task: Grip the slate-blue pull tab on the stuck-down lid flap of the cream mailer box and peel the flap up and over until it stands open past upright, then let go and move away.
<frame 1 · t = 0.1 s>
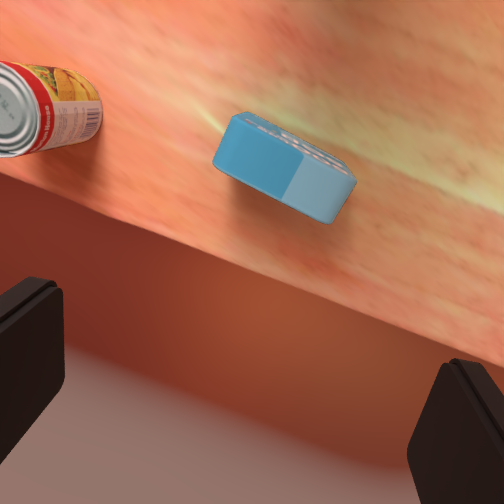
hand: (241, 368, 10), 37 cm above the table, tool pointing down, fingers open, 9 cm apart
canned food: (70, 107, 45), on the table
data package: (286, 154, 44), on the table
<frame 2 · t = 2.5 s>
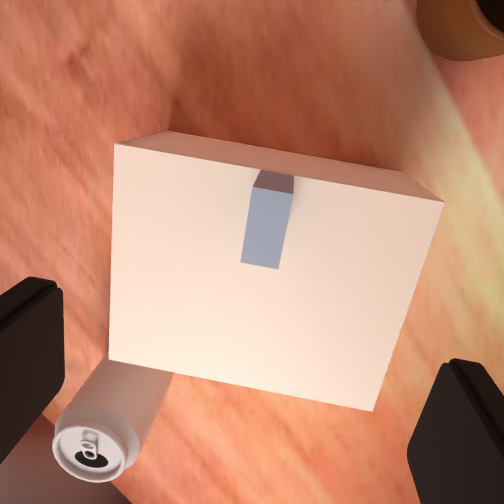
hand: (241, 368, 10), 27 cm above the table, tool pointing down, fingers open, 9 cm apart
mailer box: (266, 238, 37), on the table
can: (141, 363, 44), on the table
mug: (484, 29, 29), on the table
flap: (252, 306, 25), point 13 cm above the table, hinge at 0.0°
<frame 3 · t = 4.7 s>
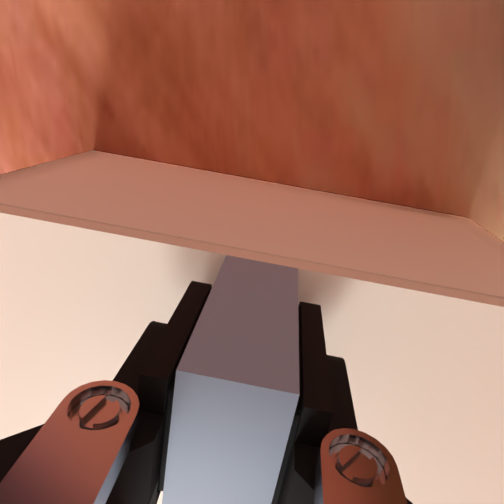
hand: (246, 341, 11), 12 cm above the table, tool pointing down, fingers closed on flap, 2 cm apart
mailer box: (253, 313, 24), on the table
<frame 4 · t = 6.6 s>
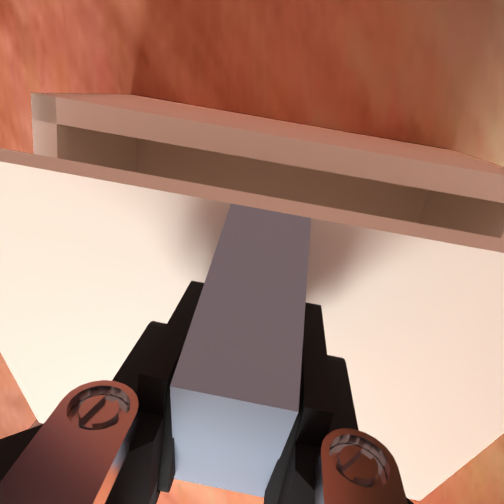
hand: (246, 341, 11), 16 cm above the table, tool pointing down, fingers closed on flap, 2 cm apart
mailer box: (267, 242, 27), on the table
flap: (229, 437, 14), point 15 cm above the table, hinge at 20.1°, touching gripper
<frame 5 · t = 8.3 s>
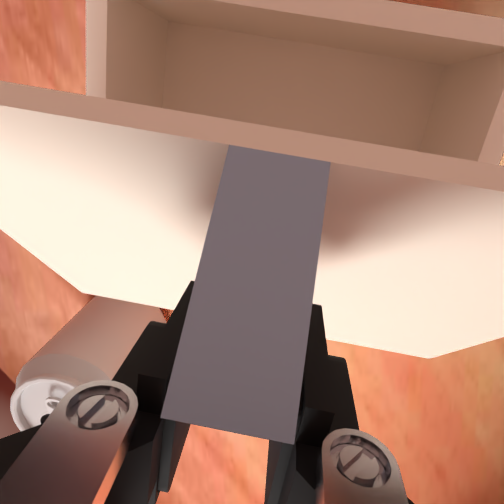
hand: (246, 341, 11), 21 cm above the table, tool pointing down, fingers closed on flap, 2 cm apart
mailer box: (285, 150, 29), on the table
can: (130, 319, 36), on the table
flap: (248, 338, 14), point 18 cm above the table, hinge at 46.2°, touching gripper
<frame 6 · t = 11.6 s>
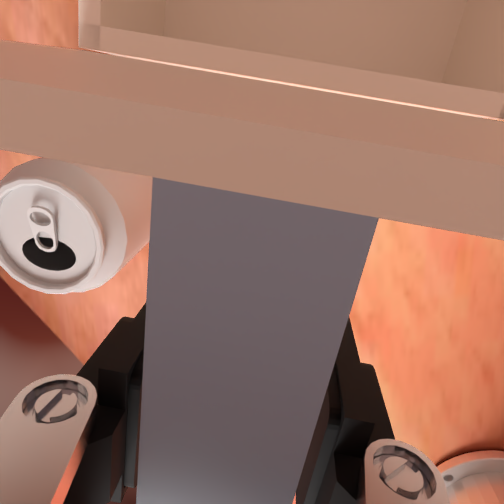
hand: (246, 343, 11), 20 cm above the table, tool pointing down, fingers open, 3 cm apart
can: (133, 188, 31), on the table
flap: (273, 194, 12), point 18 cm above the table, hinge at 92.5°
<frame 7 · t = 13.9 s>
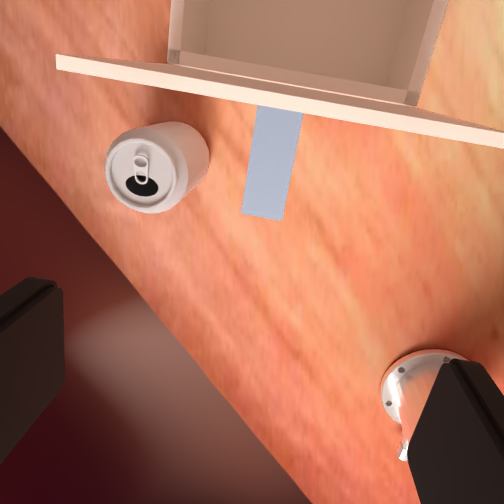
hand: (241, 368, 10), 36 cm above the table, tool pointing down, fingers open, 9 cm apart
can: (178, 155, 45), on the table
flap: (279, 135, 25), point 18 cm above the table, hinge at 92.5°
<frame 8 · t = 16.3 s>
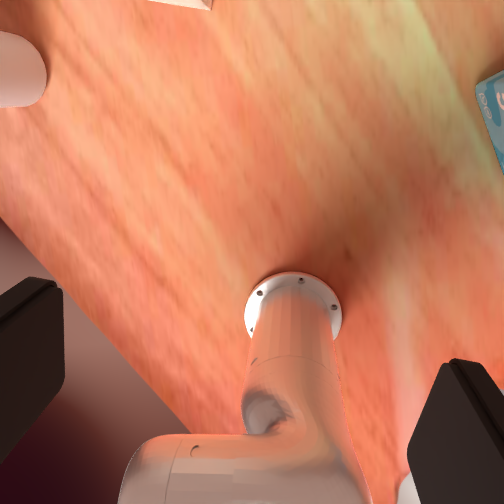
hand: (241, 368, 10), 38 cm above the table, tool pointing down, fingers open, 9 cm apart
can: (20, 71, 45), on the table
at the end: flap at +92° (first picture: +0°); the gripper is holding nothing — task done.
